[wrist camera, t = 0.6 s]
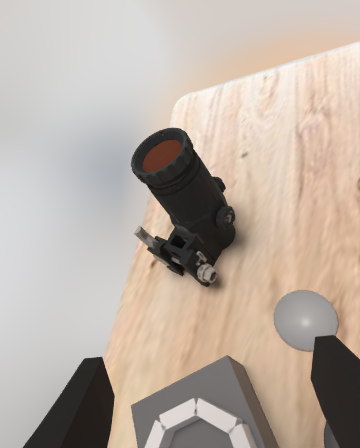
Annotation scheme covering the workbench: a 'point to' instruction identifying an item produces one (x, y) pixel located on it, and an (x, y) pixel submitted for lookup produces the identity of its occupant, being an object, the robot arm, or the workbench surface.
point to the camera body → (204, 412)
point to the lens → (329, 438)
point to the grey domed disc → (304, 319)
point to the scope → (184, 204)
